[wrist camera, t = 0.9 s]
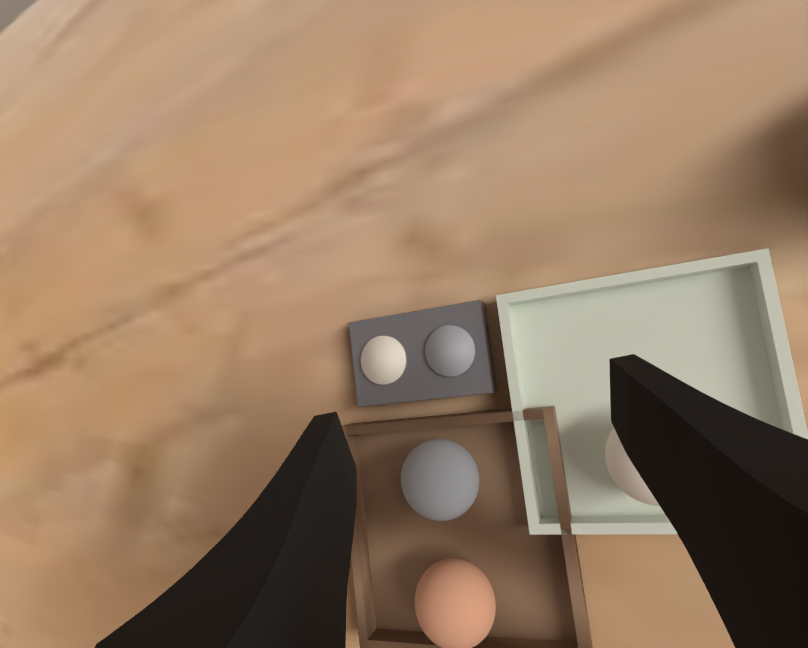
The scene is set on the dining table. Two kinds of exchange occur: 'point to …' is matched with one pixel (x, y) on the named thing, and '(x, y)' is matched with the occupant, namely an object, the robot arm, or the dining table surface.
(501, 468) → the walnut tray
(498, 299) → the sage tray
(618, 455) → the cream ball
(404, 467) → the grey ball
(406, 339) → the tile
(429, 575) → the terracotta ball
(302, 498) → the robot arm
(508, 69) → the dining table surface
